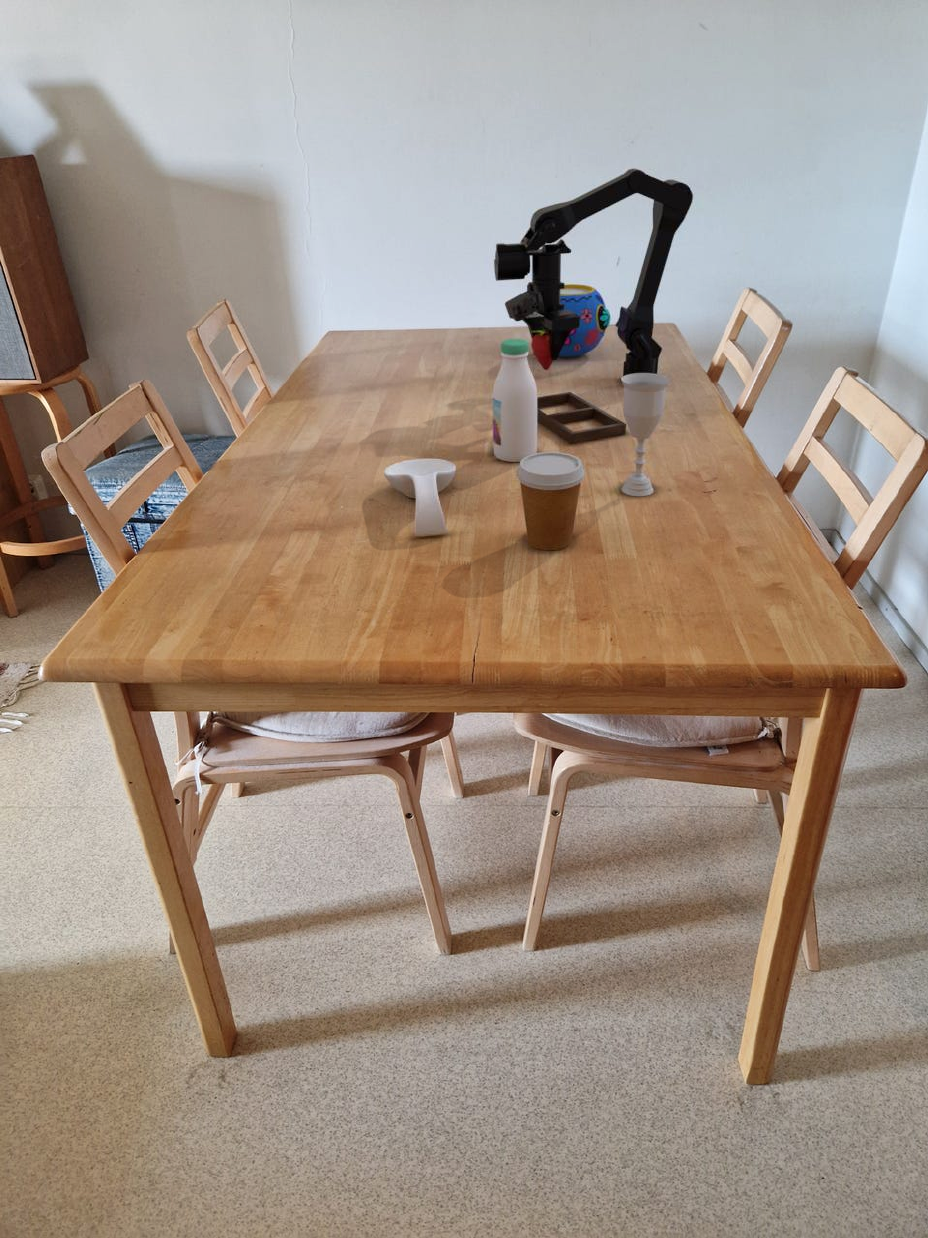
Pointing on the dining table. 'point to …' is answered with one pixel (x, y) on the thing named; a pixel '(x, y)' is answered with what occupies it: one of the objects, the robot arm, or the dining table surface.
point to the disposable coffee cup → (550, 497)
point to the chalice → (642, 421)
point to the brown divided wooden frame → (577, 419)
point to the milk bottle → (514, 404)
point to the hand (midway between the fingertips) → (545, 355)
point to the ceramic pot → (584, 319)
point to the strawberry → (542, 349)
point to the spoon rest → (423, 490)
